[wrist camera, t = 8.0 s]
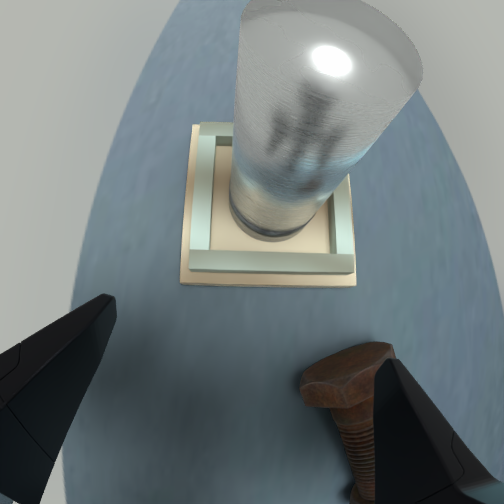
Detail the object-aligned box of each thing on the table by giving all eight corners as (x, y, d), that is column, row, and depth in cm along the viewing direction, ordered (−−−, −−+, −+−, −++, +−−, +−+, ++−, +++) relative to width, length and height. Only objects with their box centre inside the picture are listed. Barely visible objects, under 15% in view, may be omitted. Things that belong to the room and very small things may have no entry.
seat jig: (348, 287, 19) (364, 283, 17) (182, 284, 18) (176, 279, 16) (338, 143, 21) (350, 125, 19) (194, 134, 20) (191, 114, 18)
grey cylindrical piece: (323, 229, 18) (455, 102, 6) (242, 252, 18) (279, 118, 6) (295, 156, 19) (368, -10, 7) (218, 174, 19) (217, -10, 6)
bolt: (365, 511, 18) (314, 355, 20) (426, 497, 16) (389, 331, 18) (353, 562, 12) (288, 393, 14) (427, 549, 10) (392, 365, 12)
